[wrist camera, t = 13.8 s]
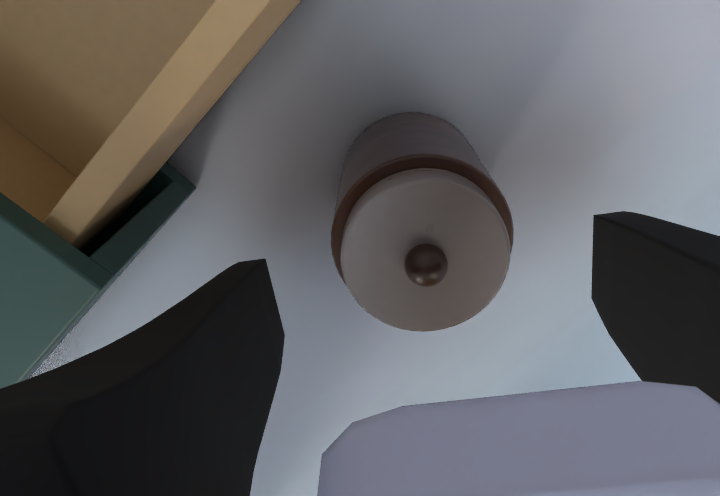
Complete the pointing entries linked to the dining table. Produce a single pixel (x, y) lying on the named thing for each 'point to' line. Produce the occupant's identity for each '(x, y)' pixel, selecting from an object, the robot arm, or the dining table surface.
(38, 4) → the drawer
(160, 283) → the dining table surface
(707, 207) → the dining table surface
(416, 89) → the dining table surface
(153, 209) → the cabinet
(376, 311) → the pepper mill
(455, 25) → the dining table surface
